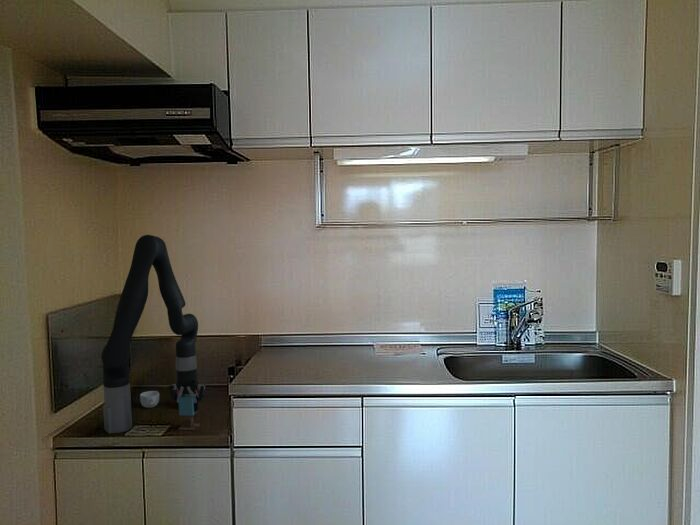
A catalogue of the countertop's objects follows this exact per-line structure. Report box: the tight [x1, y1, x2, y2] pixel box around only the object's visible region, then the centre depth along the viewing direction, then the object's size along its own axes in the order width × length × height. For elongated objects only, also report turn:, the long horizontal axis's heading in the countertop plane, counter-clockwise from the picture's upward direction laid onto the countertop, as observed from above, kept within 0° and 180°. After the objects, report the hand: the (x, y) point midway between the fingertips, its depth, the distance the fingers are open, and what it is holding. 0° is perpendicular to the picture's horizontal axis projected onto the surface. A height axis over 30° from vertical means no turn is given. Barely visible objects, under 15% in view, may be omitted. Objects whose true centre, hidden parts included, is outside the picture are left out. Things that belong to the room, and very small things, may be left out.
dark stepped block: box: [178, 415, 201, 431], centre depth 219 cm, size 6×6×6 cm
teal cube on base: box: [178, 394, 197, 417], centre depth 218 cm, size 5×5×7 cm
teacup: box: [139, 390, 160, 409], centre depth 244 cm, size 10×8×5 cm
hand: (188, 411), depth 219 cm, fingers closed on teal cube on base, 5 cm apart
